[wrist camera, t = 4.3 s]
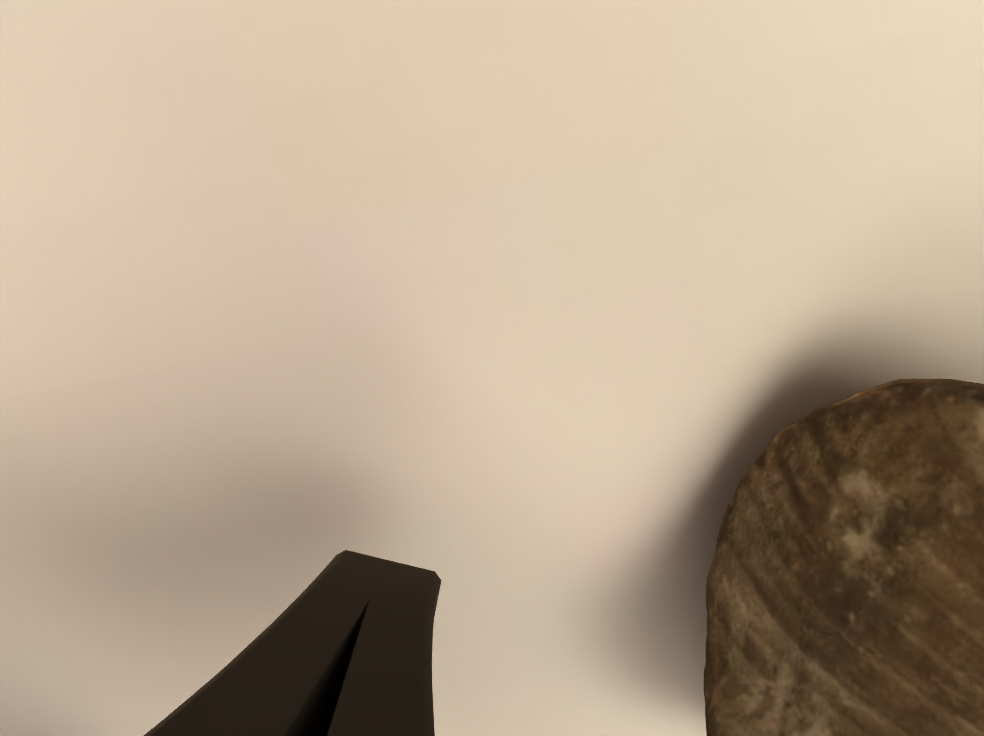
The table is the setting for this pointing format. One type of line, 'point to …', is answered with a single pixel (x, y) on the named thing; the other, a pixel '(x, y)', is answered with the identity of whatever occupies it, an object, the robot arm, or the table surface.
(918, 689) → the fossilized seashell
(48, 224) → the table surface
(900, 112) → the table surface
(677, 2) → the table surface
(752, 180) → the table surface
